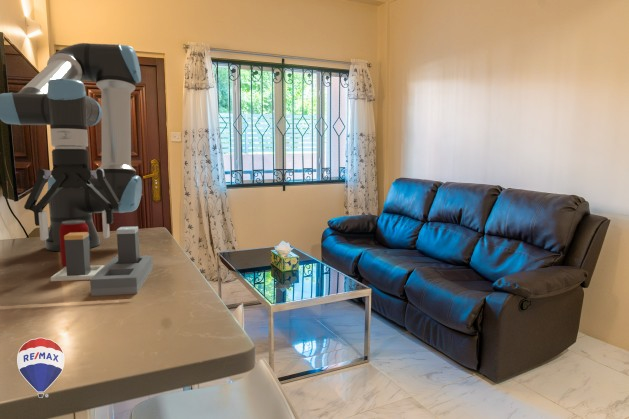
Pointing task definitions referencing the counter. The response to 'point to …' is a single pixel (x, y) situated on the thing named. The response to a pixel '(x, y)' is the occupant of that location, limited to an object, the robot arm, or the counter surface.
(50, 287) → the counter surface
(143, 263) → the grey socket block
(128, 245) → the twin plug
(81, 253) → the plug
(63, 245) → the beverage can
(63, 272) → the tray
